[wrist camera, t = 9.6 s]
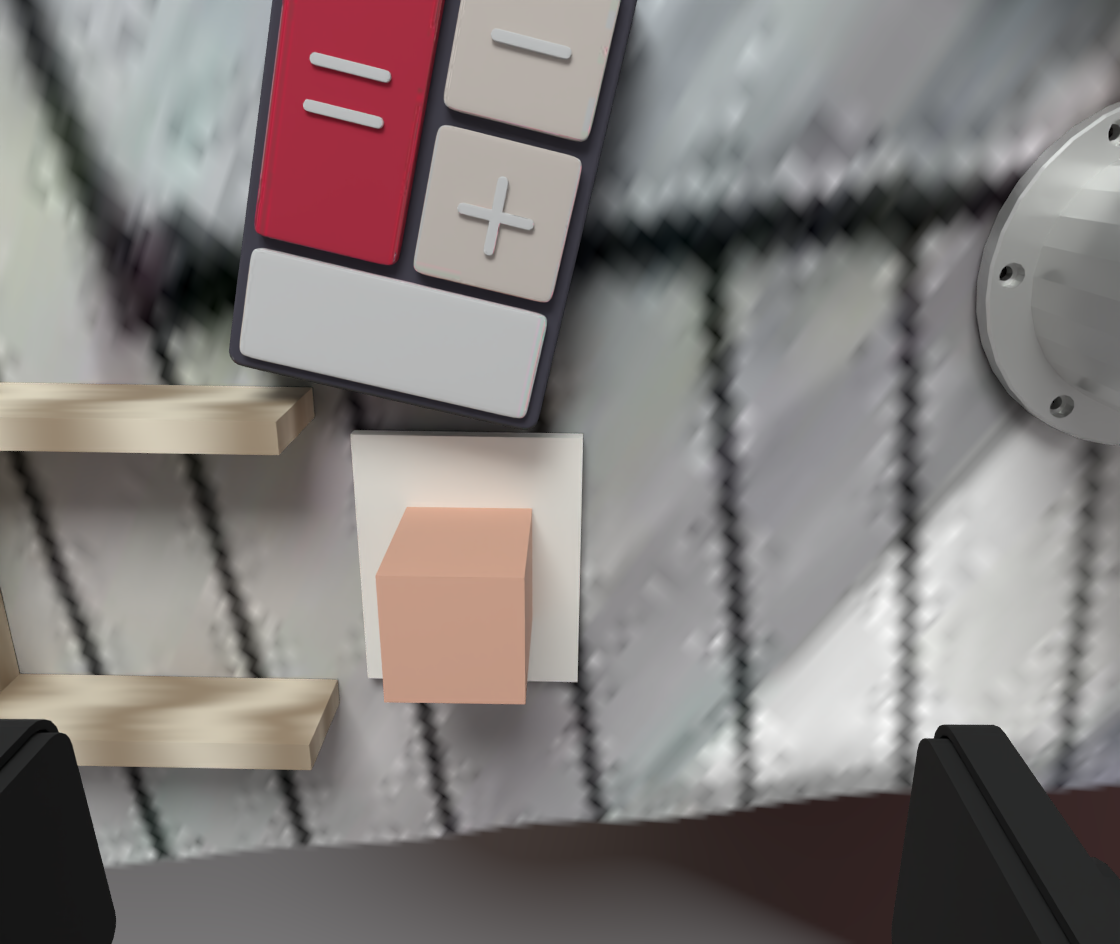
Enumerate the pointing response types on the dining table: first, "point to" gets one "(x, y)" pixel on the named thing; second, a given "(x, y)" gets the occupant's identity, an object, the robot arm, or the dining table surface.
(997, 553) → the dining table surface
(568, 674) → the mat
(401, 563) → the block
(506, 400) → the calculator
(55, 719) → the u-shaped frame
